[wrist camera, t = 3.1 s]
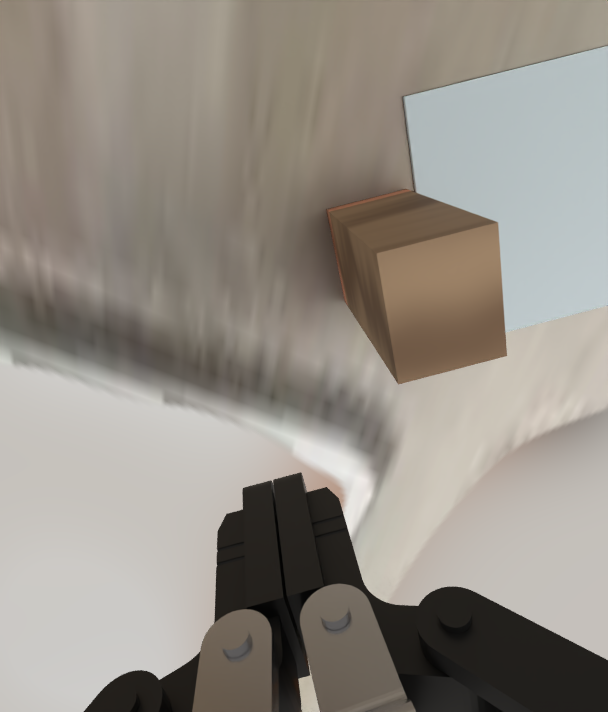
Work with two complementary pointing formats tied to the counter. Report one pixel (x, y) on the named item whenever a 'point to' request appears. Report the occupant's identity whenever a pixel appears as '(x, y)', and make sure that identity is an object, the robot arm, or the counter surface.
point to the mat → (526, 176)
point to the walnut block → (421, 281)
